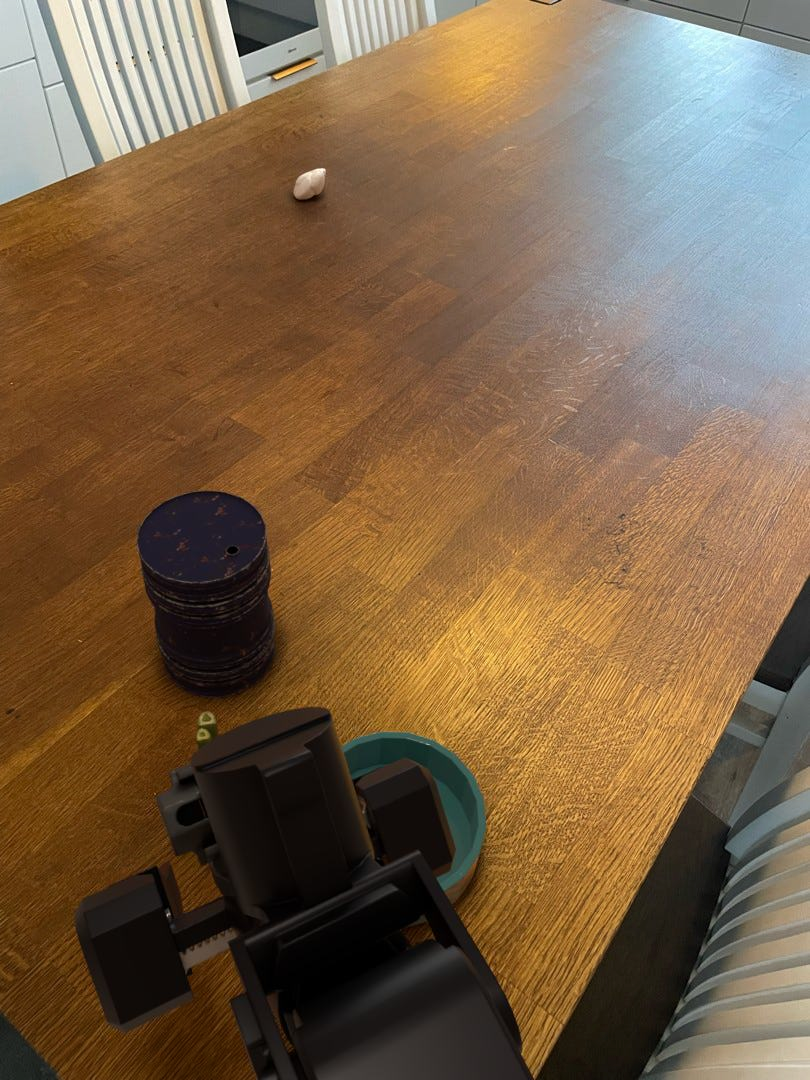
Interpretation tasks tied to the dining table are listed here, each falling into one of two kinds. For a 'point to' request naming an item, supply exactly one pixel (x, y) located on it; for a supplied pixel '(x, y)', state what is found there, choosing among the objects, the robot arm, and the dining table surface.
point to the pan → (454, 791)
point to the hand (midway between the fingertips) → (244, 836)
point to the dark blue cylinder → (209, 591)
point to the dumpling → (310, 184)
